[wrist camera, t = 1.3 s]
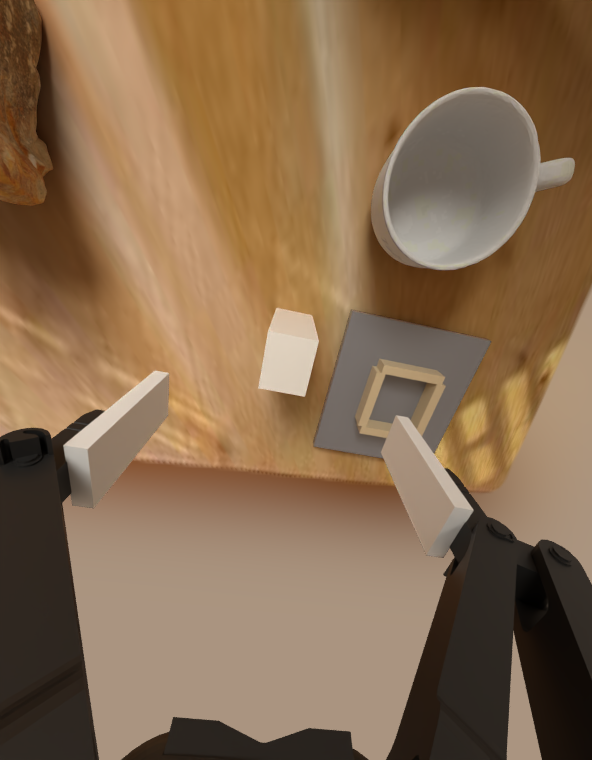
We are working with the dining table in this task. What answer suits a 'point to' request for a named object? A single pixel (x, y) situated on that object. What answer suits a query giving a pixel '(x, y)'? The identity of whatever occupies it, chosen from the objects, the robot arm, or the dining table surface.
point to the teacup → (461, 180)
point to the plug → (289, 353)
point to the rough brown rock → (20, 105)
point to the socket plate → (395, 382)
